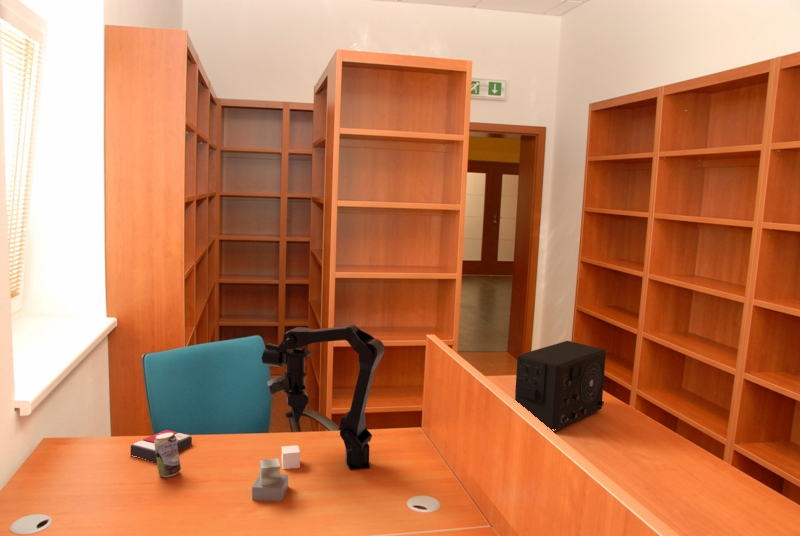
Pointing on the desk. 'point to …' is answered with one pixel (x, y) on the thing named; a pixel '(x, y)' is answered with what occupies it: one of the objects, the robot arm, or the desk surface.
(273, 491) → the grey base block
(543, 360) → the vintage radio
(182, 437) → the red and white box
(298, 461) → the off-white block
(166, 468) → the beverage can
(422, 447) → the desk surface
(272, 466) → the cube block
